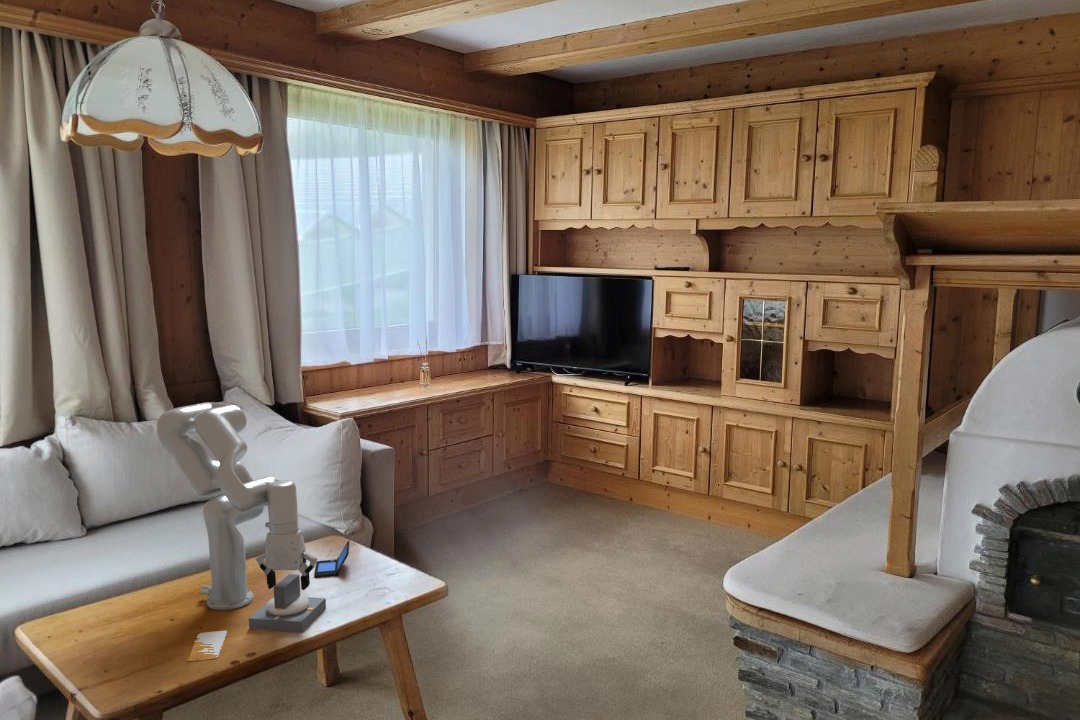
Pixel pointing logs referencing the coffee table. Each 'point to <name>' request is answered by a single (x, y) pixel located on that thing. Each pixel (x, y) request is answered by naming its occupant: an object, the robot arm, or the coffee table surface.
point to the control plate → (288, 618)
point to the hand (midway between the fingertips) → (288, 587)
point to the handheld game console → (331, 565)
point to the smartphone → (212, 641)
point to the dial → (287, 597)
